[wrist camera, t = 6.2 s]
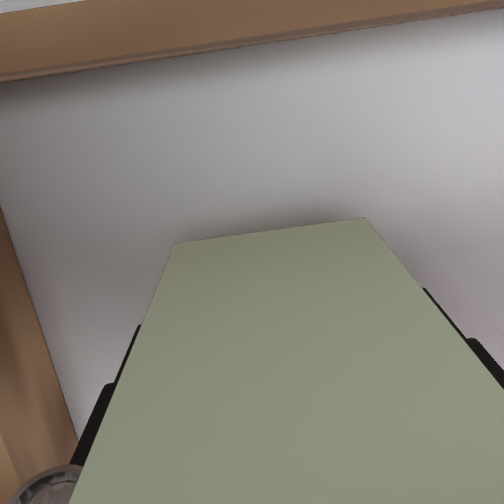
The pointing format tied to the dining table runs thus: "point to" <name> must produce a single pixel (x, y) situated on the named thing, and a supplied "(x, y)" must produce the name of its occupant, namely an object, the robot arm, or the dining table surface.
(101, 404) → the robot arm
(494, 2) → the wooden u-shaped frame
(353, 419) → the sage block
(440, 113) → the dining table surface
